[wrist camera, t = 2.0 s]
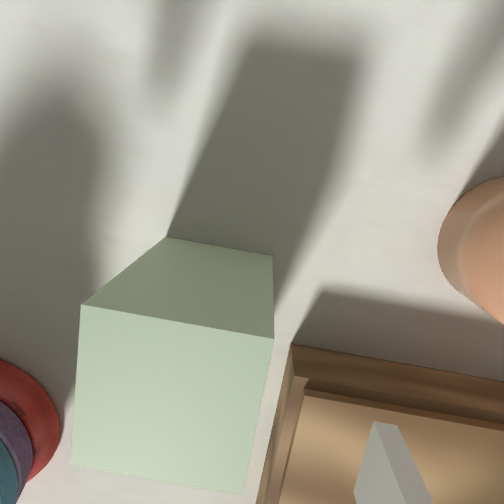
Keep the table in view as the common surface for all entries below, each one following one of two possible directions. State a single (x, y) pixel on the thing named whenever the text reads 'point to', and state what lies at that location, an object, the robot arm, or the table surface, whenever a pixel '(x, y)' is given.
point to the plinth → (386, 411)
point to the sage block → (175, 366)
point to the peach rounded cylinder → (476, 246)
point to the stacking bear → (23, 431)
